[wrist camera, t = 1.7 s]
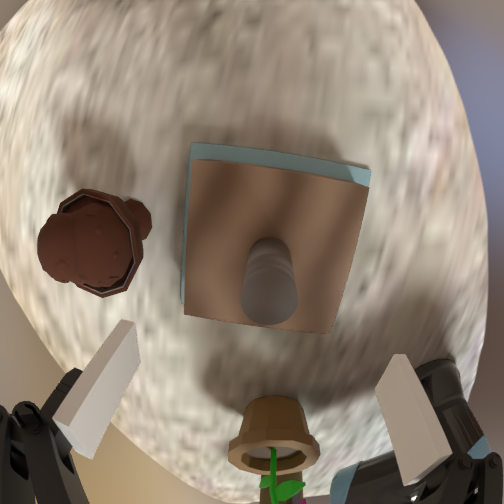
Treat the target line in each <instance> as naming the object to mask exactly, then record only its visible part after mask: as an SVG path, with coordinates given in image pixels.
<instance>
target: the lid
mask: <svg viewBox="0 0 504 504" xmlns="http://www.w3.org/2000/svg"><path fill="white" fill-rule="evenodd" d="M368 192H369V187H367V186H364V185H361V184H359V183H356V182H352V181H348V180H343V179H338V178H333V177H328V176H323V175H318V174H313V173H307V172H301V171H295V170H289V169H283V168H277V167H270V166H263V165H256V164H248V163H240V162H232V161H223V160H213V159H197V160H193V163H192V173H191V183H190V195H189V207H188V221H187V238H186V258H185V288H184V314H185V315H190V316H196V317H201V318H207V319H213V320H219V321H225V322H231V323H238V324H245V325H252V326H259V327H266V328H274V329H282V330H291V331H300V332H310V333H320V334H330V332H331V330H332V327H333V324H334V321H335V318H336V315H337V311H338V308H339V305H340V302H341V299H342V296H343V292H344V289H345V286H346V282H347V279H348V275H349V272H350V268H351V264H352V261H353V257H354V253H355V249H356V245H357V241H358V237H359V233H360V229H361V225H362V220H363V216H364V211H365V207H366V202H367V197H368Z"/></svg>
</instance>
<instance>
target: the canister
mask: <svg viewBox="0 0 504 504" xmlns="http://www.w3.org/2000/svg"><path fill="white" fill-rule="evenodd" d="M265 476H270V475H261V479H262V478H263V477H265ZM290 480H294V481H299V482H302V471H300V472H295V473H289V474H284V475H276V488H277V487H278V486H279V485H280V484H281V483H282V482H286V481H290ZM301 499H303V488H302V489H301V490H300V491H298V492H297V493H296V494H295V495H294V496H292V497H291V498H289V499H287V500H286V501H278V503H279V504H299V502H300V500H301ZM260 504H272V502H271V496H270V485H269V486H268V487H266V488H261V489H260Z"/></svg>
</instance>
